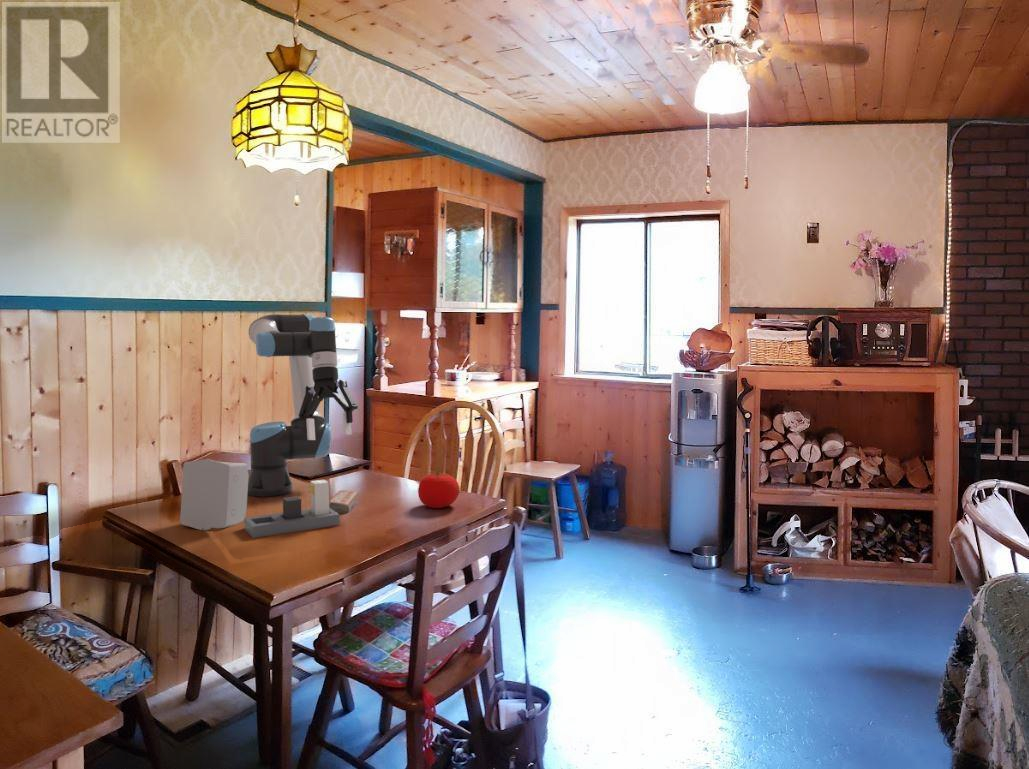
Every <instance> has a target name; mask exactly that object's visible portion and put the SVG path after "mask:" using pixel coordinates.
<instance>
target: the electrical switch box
mask: <svg viewBox="0 0 1029 769" xmlns="http://www.w3.org/2000/svg"><path fill="white" fill-rule="evenodd" d="M182 466H183V468H182V469H183V470H182V481H181V482H182V484H181V499H180V500H181V501H180V517H179V523H180V525H182V526H186V527H190V528H193V529H197V530H199V531H208V530H212V528H213V529H224V528H225V529H226V528H229V527H232V526H235V525H237V524H239V523H241V522H243V521H244V518H246V515H247V514H246V513H247V509H248V508H247V505H248V494H247V492H248V477H249V470H248V464H247V463H245V462H243V463H242V462H241V463H240V462H229V461H226V462H225V461H218V460H213V459H209V458H206V459H204V458H203V459H199V460H192V461H186V462H184V463H183V465H182Z"/></svg>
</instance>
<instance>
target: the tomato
mask: <svg viewBox="0 0 1029 769" xmlns="http://www.w3.org/2000/svg"><path fill="white" fill-rule="evenodd" d="M417 489H418V490H417V493H418V499H419V500H420V502H421V503H422V504H423V505H424V506H426V507H428V508H431V509H442V508H445V507H448V506H451V505H452V504H453V503H454V502H455V501H456V500H457V499H458V496H459V494H460V484H459V482H458V480H457V479H456V477H453V476H452V475H450V474H446V473H443V472H434V473H432V472H430V473H429V474H426V475H425V476H423V477H422V478H421V480H420V482H419V484H418V488H417Z"/></svg>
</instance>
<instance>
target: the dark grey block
mask: <svg viewBox="0 0 1029 769" xmlns="http://www.w3.org/2000/svg"><path fill="white" fill-rule="evenodd" d="M301 510H302V499H301V498H300V497H299V496H291V497H288V496H287V497H283V498H282V513H283V518H284V519H285V520H288V519H295V518H301Z"/></svg>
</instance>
